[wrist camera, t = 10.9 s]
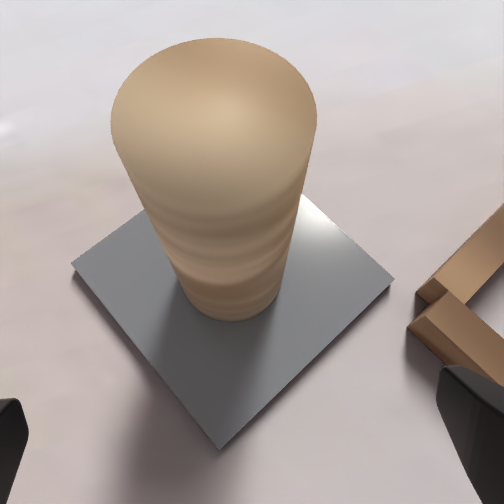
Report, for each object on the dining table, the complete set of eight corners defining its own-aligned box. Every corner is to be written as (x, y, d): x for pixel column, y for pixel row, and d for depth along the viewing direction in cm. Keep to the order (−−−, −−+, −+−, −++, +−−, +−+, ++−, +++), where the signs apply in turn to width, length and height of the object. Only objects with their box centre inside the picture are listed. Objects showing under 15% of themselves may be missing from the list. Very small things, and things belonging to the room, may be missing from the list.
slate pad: (220, 449, 16) (218, 450, 15) (75, 267, 19) (70, 263, 18) (390, 283, 19) (394, 279, 18) (241, 145, 22) (241, 138, 21)
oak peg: (258, 338, 17) (268, 236, 8) (162, 297, 18) (69, 155, 9) (297, 248, 19) (344, 73, 9) (208, 212, 19) (171, 17, 10)
